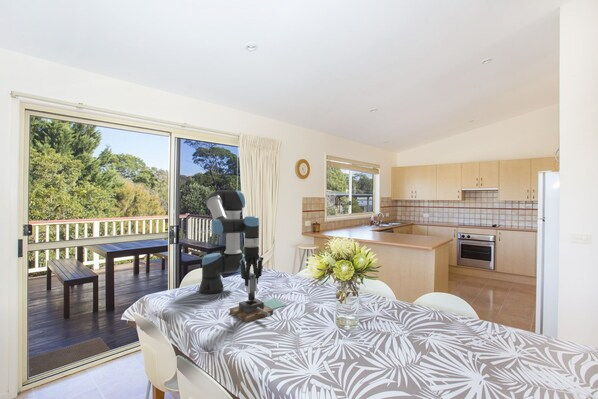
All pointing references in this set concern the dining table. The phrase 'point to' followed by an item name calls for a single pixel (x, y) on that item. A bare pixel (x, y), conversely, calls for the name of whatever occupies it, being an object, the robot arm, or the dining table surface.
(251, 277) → the key
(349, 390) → the dining table surface
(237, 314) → the block
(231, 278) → the dining table surface
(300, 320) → the dining table surface
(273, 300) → the mat
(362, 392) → the dining table surface
